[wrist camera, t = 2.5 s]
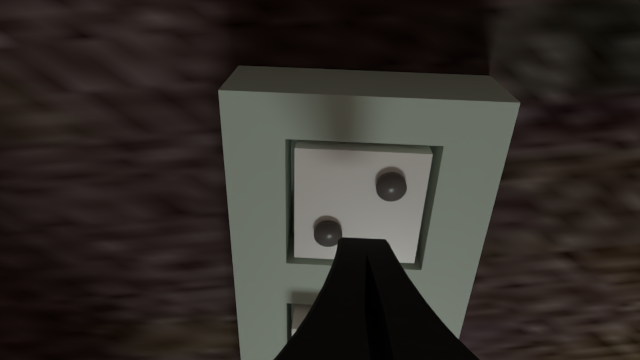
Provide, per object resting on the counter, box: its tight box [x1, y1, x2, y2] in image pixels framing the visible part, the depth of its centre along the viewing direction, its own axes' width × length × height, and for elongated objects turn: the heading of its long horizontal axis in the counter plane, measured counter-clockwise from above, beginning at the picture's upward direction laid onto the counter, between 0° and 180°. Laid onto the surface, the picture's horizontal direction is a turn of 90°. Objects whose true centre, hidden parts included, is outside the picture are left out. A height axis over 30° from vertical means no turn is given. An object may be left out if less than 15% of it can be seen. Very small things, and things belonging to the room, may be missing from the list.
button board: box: [218, 66, 520, 360], centre depth 20 cm, size 9×22×3 cm, turn 178°
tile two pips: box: [294, 140, 433, 263], centre depth 16 cm, size 4×4×2 cm
